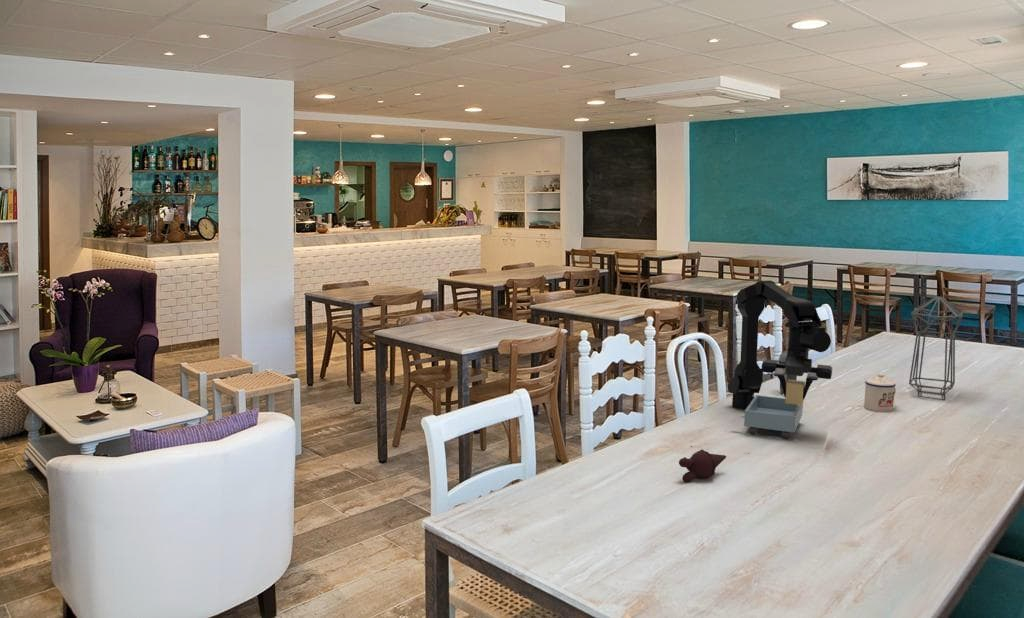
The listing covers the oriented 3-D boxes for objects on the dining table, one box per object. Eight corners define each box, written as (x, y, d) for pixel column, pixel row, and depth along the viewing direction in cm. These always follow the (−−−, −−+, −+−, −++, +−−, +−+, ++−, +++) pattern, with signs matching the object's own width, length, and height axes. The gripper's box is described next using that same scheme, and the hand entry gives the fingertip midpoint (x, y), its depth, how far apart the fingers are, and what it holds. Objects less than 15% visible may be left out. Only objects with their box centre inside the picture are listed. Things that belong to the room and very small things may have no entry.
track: (723, 437, 227) (723, 432, 227) (737, 418, 247) (737, 414, 247) (796, 447, 219) (797, 442, 218) (805, 426, 238) (805, 422, 238)
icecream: (712, 442, 202) (668, 456, 195) (733, 442, 196) (688, 458, 188) (718, 469, 202) (673, 484, 195) (739, 470, 196) (694, 486, 188)
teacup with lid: (881, 413, 253) (883, 378, 251) (856, 406, 261) (859, 372, 259) (905, 409, 259) (908, 374, 257) (881, 402, 267) (883, 368, 265)
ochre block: (785, 403, 227) (786, 382, 226) (787, 399, 231) (788, 379, 230) (801, 405, 225) (803, 384, 224) (803, 401, 229) (804, 381, 228)
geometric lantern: (954, 404, 265) (964, 300, 260) (902, 397, 273) (910, 297, 268) (957, 394, 278) (966, 295, 273) (907, 388, 286) (915, 292, 281)
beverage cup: (799, 397, 273) (803, 340, 270) (777, 395, 274) (780, 339, 272) (796, 392, 280) (800, 336, 277) (775, 390, 282) (778, 335, 279)
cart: (743, 434, 226) (744, 410, 225) (754, 416, 243) (756, 395, 242) (793, 440, 220) (795, 416, 219) (801, 422, 237) (803, 400, 236)
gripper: (760, 346, 222) (756, 400, 225) (831, 353, 215) (827, 409, 217) (765, 339, 232) (762, 391, 235) (834, 346, 225) (830, 399, 227)
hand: (794, 398), depth 228 cm, fingers closed on ochre block, 4 cm apart
